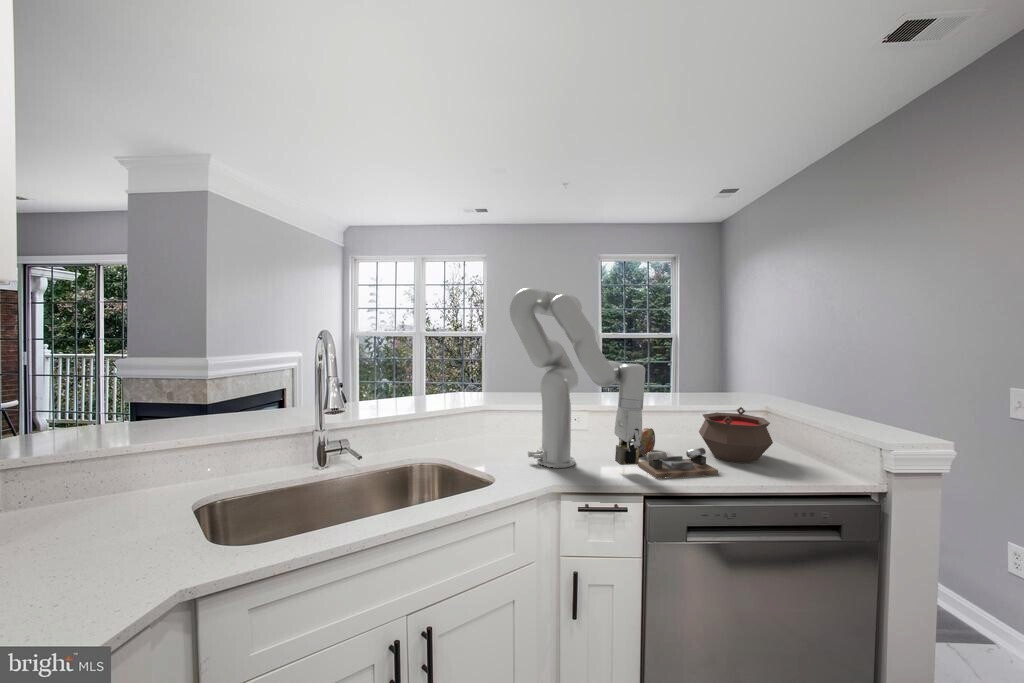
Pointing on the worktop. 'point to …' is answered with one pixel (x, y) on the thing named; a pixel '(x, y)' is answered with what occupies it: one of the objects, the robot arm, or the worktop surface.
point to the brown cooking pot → (736, 436)
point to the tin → (647, 441)
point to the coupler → (622, 453)
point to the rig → (673, 466)
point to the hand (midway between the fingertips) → (626, 460)
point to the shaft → (697, 456)
